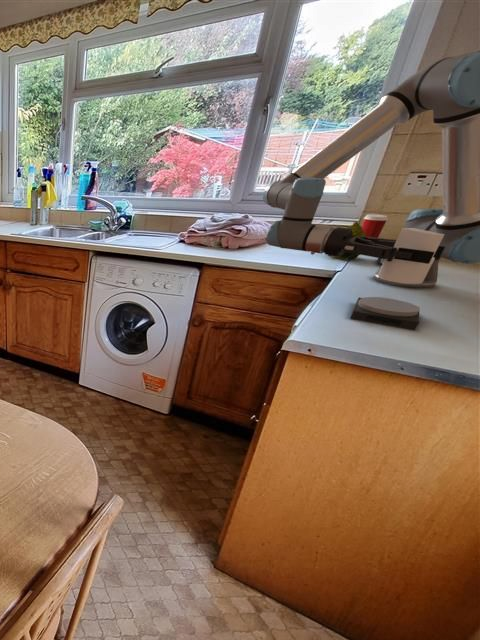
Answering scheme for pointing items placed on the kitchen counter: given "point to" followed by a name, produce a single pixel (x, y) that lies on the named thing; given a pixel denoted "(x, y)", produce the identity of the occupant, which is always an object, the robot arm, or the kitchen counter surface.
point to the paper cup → (373, 225)
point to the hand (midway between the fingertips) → (436, 255)
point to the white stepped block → (408, 269)
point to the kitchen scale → (386, 312)
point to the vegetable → (356, 233)
